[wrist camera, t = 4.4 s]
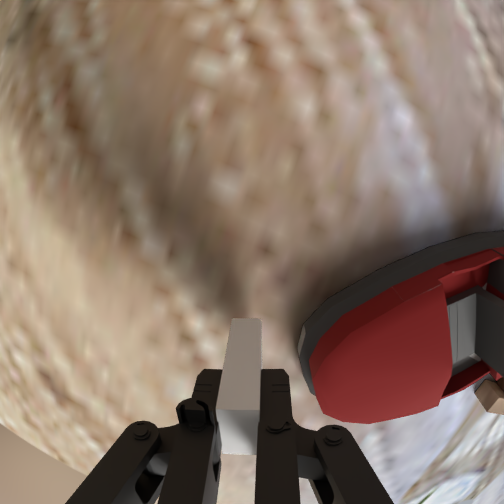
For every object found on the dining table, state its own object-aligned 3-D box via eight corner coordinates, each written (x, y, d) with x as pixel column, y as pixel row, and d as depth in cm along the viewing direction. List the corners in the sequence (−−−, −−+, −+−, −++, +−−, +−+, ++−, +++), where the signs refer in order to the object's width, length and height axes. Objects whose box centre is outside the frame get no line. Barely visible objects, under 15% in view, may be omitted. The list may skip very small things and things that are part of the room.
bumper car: (278, 293, 18) (288, 435, 8) (542, 198, 15) (647, 238, 6) (318, 410, 21) (337, 534, 11) (539, 314, 18) (611, 379, 9)
